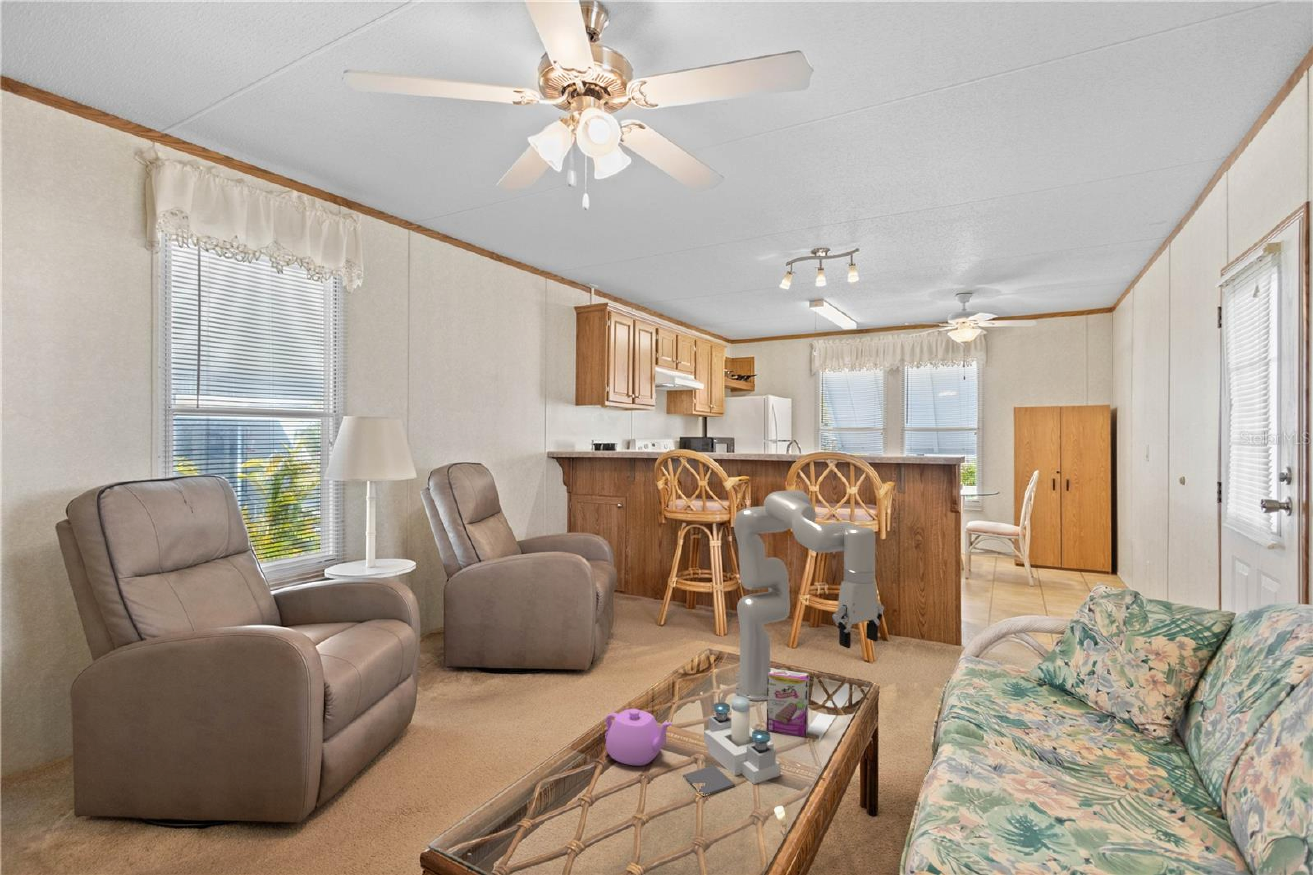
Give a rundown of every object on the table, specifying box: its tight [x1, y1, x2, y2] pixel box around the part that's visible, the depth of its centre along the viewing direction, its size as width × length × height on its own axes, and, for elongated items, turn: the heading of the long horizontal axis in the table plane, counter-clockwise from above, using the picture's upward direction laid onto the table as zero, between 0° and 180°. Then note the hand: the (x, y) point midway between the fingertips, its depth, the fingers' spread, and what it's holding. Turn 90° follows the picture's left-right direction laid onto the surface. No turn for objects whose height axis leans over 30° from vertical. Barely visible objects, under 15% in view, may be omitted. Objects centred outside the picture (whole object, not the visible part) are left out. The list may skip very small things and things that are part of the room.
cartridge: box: [731, 695, 751, 747], centre depth 157 cm, size 5×5×15 cm
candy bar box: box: [766, 667, 810, 738], centre depth 171 cm, size 11×5×16 cm, turn 71°
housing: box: [703, 714, 781, 785], centre depth 157 cm, size 22×12×6 cm, turn 28°
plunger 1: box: [712, 701, 731, 723], centre depth 165 cm, size 4×4×5 cm
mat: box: [682, 764, 736, 795], centre depth 147 cm, size 9×9×1 cm
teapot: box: [604, 708, 673, 767], centre depth 158 cm, size 20×13×12 cm, turn 62°
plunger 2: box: [752, 729, 771, 754], centre depth 150 cm, size 4×4×5 cm
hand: (858, 643), depth 155 cm, fingers open, 9 cm apart
